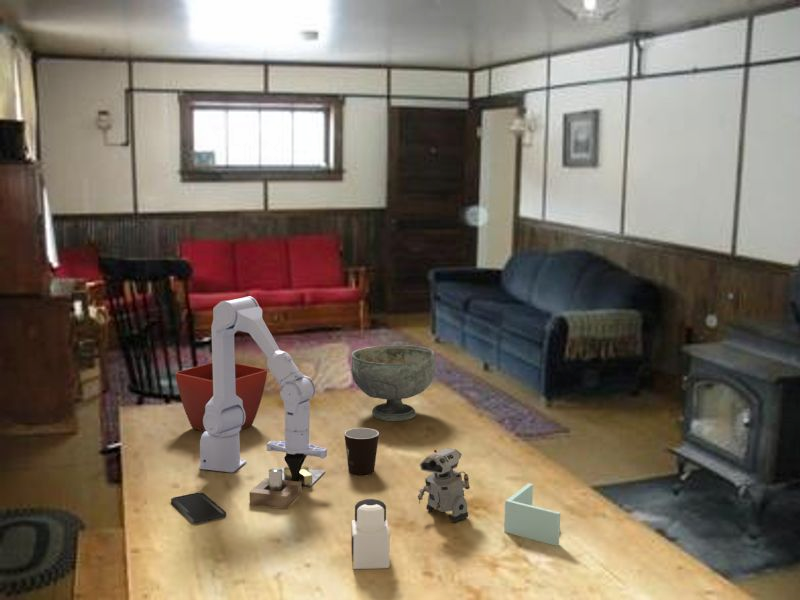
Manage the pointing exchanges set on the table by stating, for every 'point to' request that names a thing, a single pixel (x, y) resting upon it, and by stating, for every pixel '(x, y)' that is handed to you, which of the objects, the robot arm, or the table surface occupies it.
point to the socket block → (275, 494)
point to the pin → (275, 479)
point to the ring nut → (300, 475)
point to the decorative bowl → (393, 376)
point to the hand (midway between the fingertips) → (296, 482)
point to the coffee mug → (361, 450)
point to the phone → (198, 508)
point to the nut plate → (315, 473)
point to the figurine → (445, 484)
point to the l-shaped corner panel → (531, 518)
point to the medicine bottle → (370, 536)
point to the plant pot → (199, 391)
